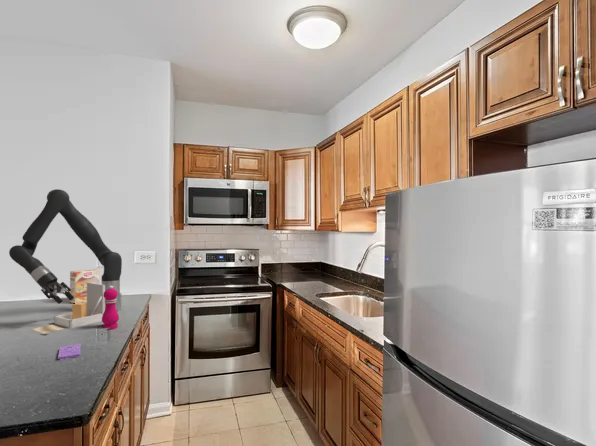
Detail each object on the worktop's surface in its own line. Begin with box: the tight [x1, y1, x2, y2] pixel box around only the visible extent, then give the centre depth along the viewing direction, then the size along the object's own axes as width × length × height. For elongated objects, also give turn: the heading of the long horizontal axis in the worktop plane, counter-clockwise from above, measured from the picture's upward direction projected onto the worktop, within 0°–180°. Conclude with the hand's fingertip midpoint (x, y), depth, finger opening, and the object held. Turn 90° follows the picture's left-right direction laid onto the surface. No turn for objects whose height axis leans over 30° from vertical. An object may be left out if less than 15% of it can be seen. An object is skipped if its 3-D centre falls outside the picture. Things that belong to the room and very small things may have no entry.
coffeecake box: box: [69, 268, 100, 304], centre depth 231 cm, size 15×7×20 cm, turn 147°
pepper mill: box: [101, 286, 120, 331], centre depth 173 cm, size 7×7×20 cm
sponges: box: [57, 343, 81, 360], centre depth 139 cm, size 7×13×2 cm, turn 30°
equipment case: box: [53, 283, 105, 329], centre depth 179 cm, size 17×14×18 cm
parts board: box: [30, 324, 66, 337], centre depth 167 cm, size 9×12×1 cm
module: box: [71, 302, 87, 319], centre depth 179 cm, size 4×4×9 cm
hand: (66, 300), depth 179 cm, fingers open, 8 cm apart
